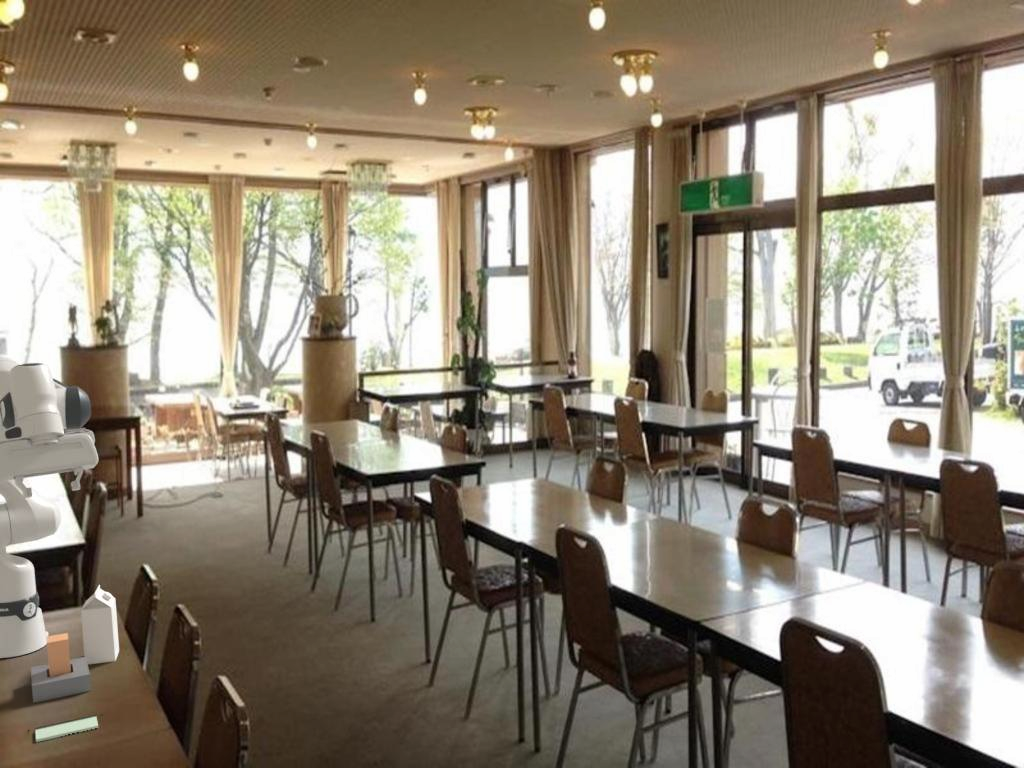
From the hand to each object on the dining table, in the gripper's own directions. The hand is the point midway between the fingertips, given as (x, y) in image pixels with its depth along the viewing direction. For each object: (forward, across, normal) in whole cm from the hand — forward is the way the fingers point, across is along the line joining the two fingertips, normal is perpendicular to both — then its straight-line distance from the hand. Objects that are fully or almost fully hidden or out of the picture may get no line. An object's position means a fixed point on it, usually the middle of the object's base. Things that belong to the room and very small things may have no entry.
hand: (52, 493), depth 197 cm
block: (+37, -1, -38) cm, 53 cm away
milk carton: (+33, -14, -49) cm, 61 cm away
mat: (+45, +1, -23) cm, 51 cm away
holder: (+38, -1, -38) cm, 54 cm away
